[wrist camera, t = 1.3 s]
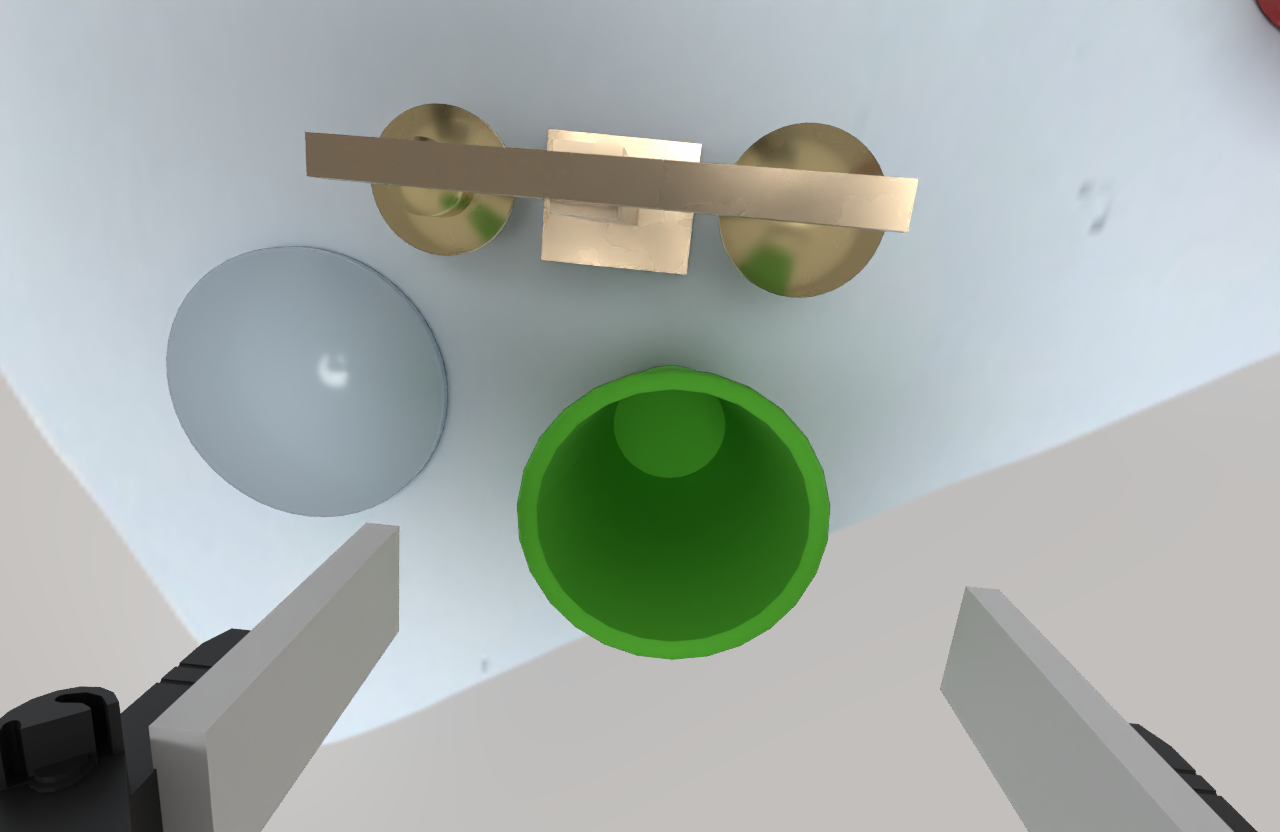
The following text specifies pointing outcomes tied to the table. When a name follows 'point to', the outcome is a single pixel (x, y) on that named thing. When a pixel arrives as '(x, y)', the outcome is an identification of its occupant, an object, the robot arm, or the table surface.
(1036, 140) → the table surface
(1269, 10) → the mug
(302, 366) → the dish
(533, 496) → the cup
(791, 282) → the balance
